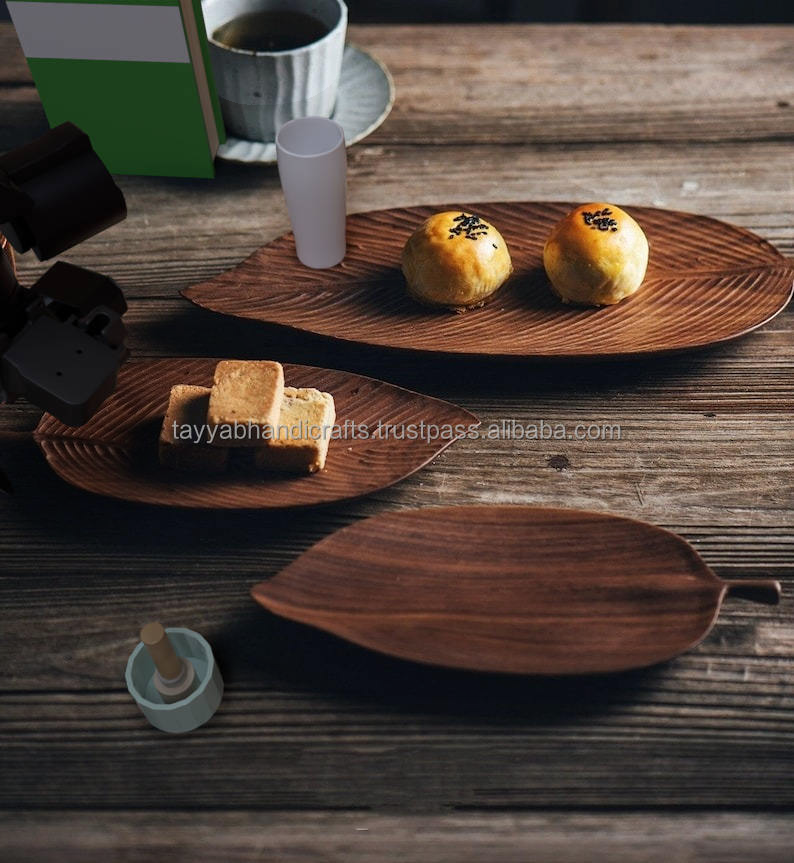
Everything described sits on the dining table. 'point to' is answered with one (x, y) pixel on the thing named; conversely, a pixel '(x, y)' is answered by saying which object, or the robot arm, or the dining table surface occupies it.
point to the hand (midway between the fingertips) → (48, 445)
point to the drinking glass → (314, 187)
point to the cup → (190, 709)
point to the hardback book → (127, 80)
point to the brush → (169, 666)
